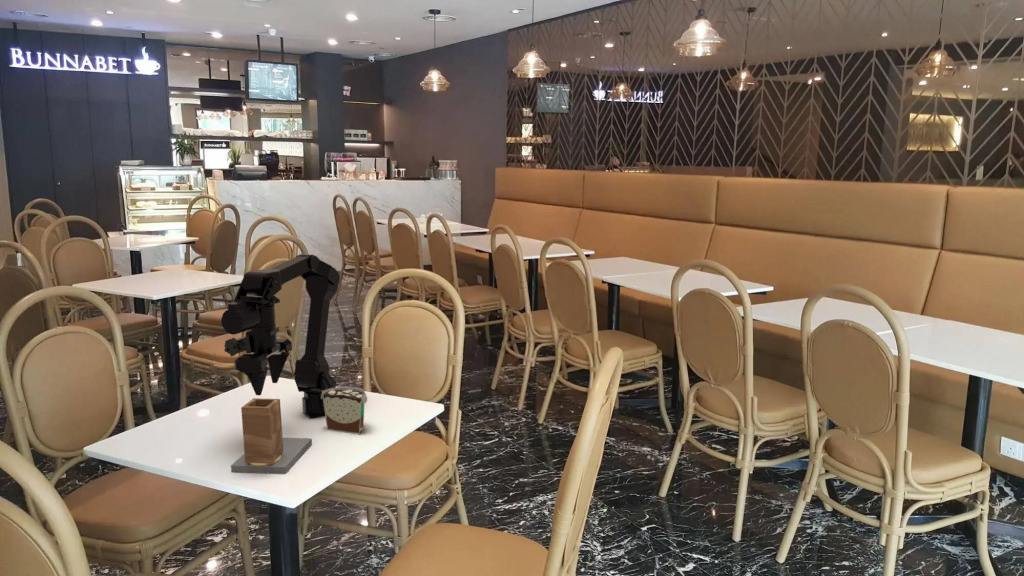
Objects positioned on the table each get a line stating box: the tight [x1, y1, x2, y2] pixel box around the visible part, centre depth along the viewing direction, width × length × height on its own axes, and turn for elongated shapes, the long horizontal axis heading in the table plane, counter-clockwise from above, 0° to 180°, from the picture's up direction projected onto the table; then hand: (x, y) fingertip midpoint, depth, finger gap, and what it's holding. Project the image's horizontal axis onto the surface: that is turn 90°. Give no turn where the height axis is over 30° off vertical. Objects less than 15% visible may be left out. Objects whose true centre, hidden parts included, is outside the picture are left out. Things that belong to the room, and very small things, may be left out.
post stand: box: [230, 437, 313, 475], centre depth 156 cm, size 16×12×5 cm
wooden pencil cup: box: [240, 398, 283, 464], centre depth 151 cm, size 6×6×12 cm
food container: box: [321, 386, 368, 435], centre depth 174 cm, size 12×6×10 cm, turn 71°
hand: (266, 388), depth 164 cm, fingers open, 9 cm apart
